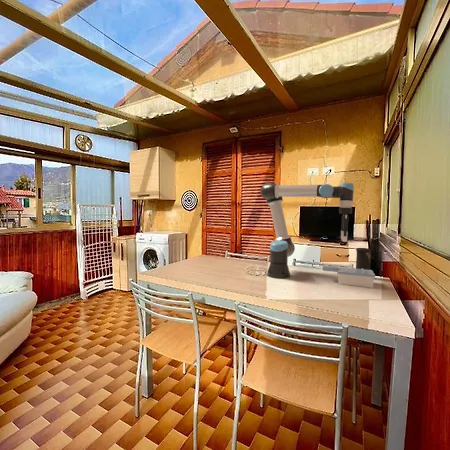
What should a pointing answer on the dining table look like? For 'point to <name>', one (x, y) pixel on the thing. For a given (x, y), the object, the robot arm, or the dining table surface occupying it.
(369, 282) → the tub
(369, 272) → the grey segmented tray
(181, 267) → the dining table surface
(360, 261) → the container
